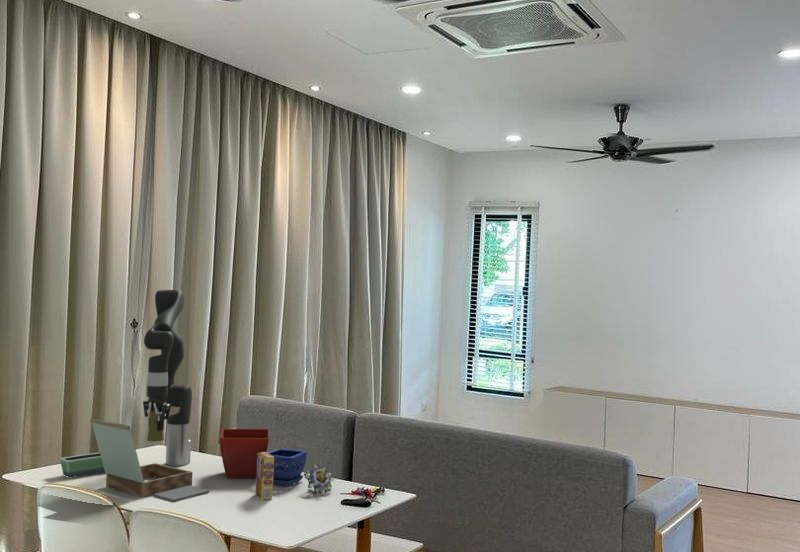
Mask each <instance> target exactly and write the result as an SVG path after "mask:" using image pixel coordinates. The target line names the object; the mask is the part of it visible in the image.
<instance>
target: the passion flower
mask: <svg viewBox="0 0 800 552" xmlns="http://www.w3.org/2000/svg"><path fill="white" fill-rule="evenodd" d="M331 476H332V473H331V472H328V470H326V467H320V466H319V467H318V466H317V465H316V464H314V465H313V468H312V469H311V470H310V471H308V470H306V471H305V472H303V477H304V479H306V481H308V485H307V488H308V489H312V488H313V490H314V493H315V494H317V493H320V495H322V494H323V495H324V494H325V491H326V489H327V490H328V491H330V490H331V489H332V487H333V486H332V482H334V481H335V478H333V477H331Z"/></svg>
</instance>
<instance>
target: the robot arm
mask: <svg viewBox="0 0 800 552" xmlns="http://www.w3.org/2000/svg"><path fill="white" fill-rule="evenodd" d="M154 304H155V309H156V316H157V317H156V318H155V320H154V322H153V323H154V324H153V325H152V326H151V328H149V329H148V331H147V332H146V333H145V335H144V339H143V343H144V346H145V348H146V349H148V350H154V351H155V350H157V351H160V354H158V355H153V356H150V357H149V358H148V370H147V371H148V372H147V377H146V378H147V379H146V380H147V381H146V397H148V399H147V400H143V402H142V405H143V406H142V407H143V413H144V417H146V418H147V419H148V427H149V425H150V418H149V413H150V412H151V411H155V413H156V415H158V417H157V418H158V423H157V430H158V431H162V430H163V431H164V429H165V426H164V425H165V420H166V439H165V440H166V445H165V448H166V449H165V466H170V467H174V466H175V467H177V466H186V465H188V464H189V463H191V452H192V449H191V445H192V443H191V442H192V440H191V439H190V421H191V414H192V413H191V410H192V400H193V391H192V387H191V386H189V385H183V384H175V376H176V373H177V371H178V369H179V367H180V365H181V364H182V362H183V359H184V357H185V347H184V341H183V338H182V336H181V335H180V334H179V332H178V331H177V330H176V329H175V328H174V325H175V322H176V321H177V319H178V317H179V315H180V314H181V312H182V310H183V309H184V304H185V297H184V293H183V291H182V290H180V289H160V290H157V291H156V292H155V295H154ZM171 407H172V408H174V407H175V408H179V410H178V412H177V413H173V414H171V415H170V412H171ZM159 411H162V412H159ZM160 414H162V415H161V417H160Z"/></svg>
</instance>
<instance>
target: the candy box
mask: <svg viewBox="0 0 800 552" xmlns="http://www.w3.org/2000/svg"><path fill="white" fill-rule="evenodd" d="M268 452H269V451H267V452H261V453H257V470H256V478H255V495H256V496H257V497H258V498H259V499H260V500H262V499H267V500H272V499H273V488H274V485H273V472H274V457H273V456H272V455H271V454H269V453H268ZM271 498H272V499H271ZM262 501H263V500H262Z"/></svg>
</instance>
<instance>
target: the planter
mask: <svg viewBox="0 0 800 552" xmlns="http://www.w3.org/2000/svg"><path fill="white" fill-rule="evenodd" d="M59 459H60V466H61V470H62V476H64V475H65V476H68V477H74V476H80V477H84V476H83V475H86V476H90V475H91V476H92V474H93V475H98V474H104V473H105V470H104V467H103V463H102V459H101V455H100V452H94V453H93V452H92V453H88V454H87V453H86V454H79V455H72V456H71V455H70V456H65V457H60V458H59ZM105 474H106V473H105ZM65 476H64V477H65ZM74 478H75V477H74Z"/></svg>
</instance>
